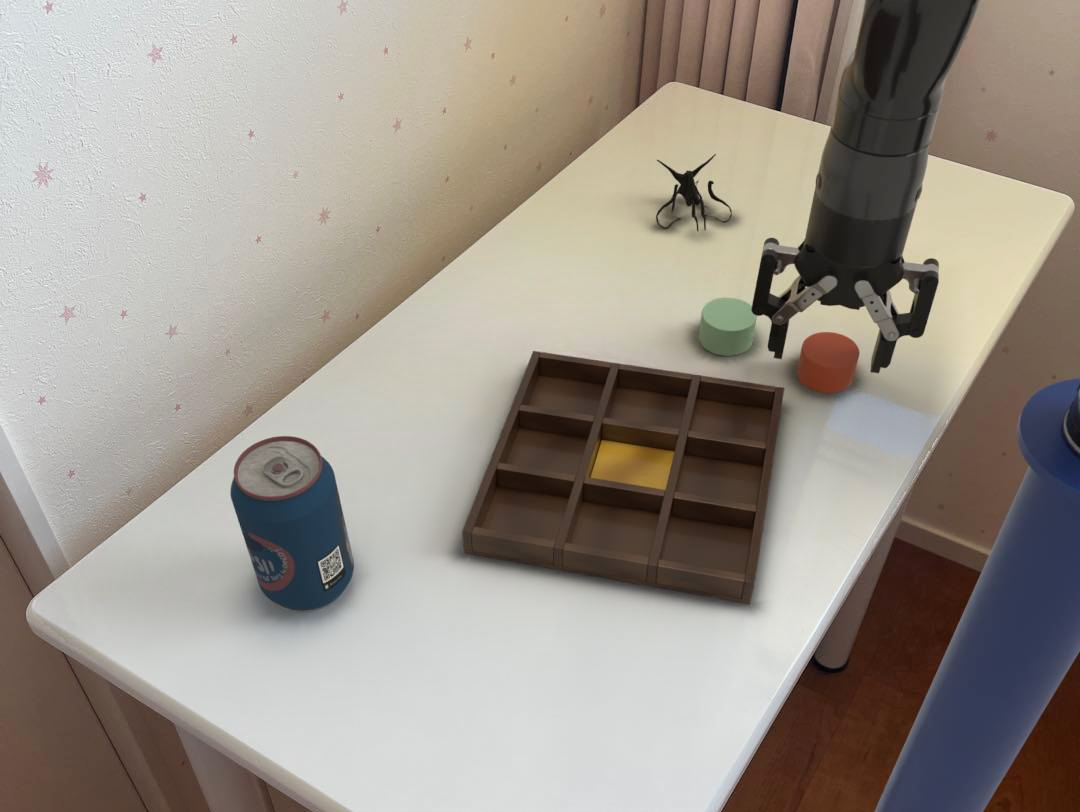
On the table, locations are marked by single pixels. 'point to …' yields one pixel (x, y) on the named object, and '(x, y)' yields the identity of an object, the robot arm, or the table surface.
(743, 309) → the sage token
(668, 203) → the creature
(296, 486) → the soda can
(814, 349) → the cylinder
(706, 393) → the grid
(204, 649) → the table surface
